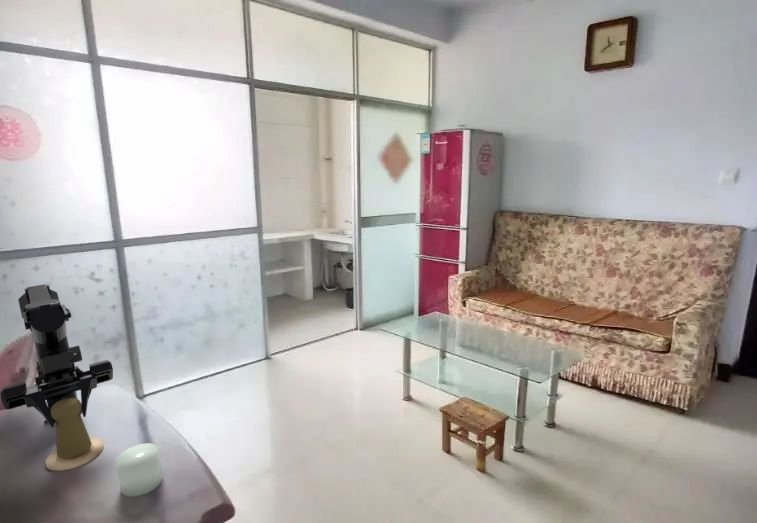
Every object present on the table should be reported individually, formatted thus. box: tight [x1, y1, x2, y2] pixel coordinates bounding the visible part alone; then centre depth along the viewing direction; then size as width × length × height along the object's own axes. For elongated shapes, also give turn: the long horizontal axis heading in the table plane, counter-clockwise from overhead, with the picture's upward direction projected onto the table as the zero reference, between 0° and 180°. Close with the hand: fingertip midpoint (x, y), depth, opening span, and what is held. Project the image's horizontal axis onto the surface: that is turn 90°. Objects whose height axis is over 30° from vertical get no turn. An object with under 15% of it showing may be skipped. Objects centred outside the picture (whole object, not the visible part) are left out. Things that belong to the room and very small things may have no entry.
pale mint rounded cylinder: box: [115, 442, 164, 498], centre depth 81 cm, size 7×7×6 cm
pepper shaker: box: [50, 397, 92, 459], centre depth 89 cm, size 6×6×11 cm
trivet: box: [45, 437, 104, 472], centre depth 91 cm, size 10×10×1 cm
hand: (68, 421), depth 88 cm, fingers closed on pepper shaker, 5 cm apart
